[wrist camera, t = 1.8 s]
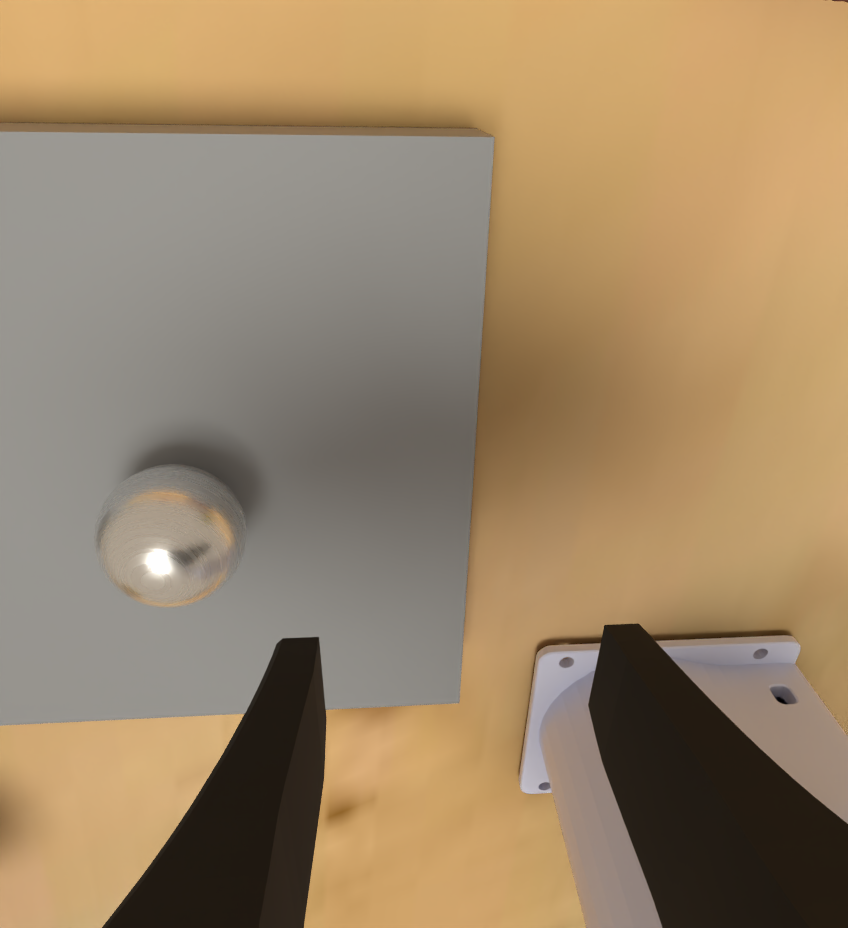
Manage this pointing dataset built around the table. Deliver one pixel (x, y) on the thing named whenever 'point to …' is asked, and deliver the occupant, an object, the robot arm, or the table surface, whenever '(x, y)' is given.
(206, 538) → the steel ball
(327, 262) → the hole deck
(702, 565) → the table surface
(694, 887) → the robot arm
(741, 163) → the table surface
